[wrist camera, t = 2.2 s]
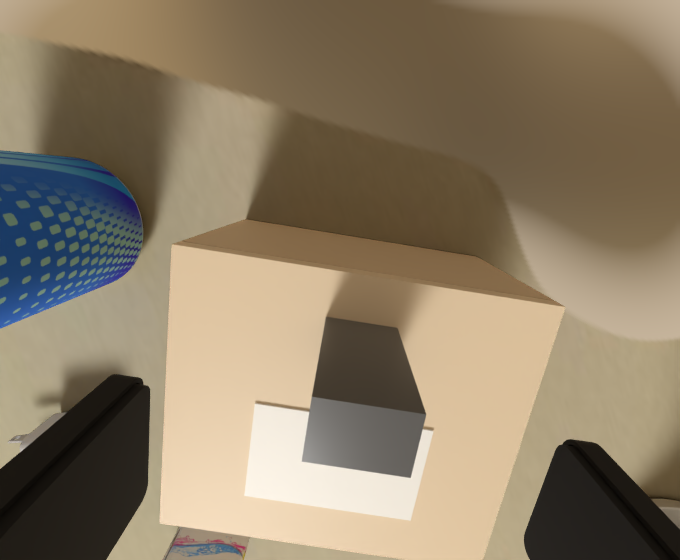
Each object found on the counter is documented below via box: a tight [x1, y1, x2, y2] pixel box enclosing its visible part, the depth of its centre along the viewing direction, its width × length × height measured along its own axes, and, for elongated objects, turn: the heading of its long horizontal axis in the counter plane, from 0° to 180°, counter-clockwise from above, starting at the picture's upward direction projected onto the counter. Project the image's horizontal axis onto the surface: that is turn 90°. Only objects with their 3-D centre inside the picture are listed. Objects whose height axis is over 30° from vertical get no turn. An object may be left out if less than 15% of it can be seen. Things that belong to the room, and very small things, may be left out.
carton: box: [182, 219, 554, 301], centre depth 22 cm, size 16×14×10 cm
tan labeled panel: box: [159, 241, 565, 560], centre depth 14 cm, size 16×14×7 cm
